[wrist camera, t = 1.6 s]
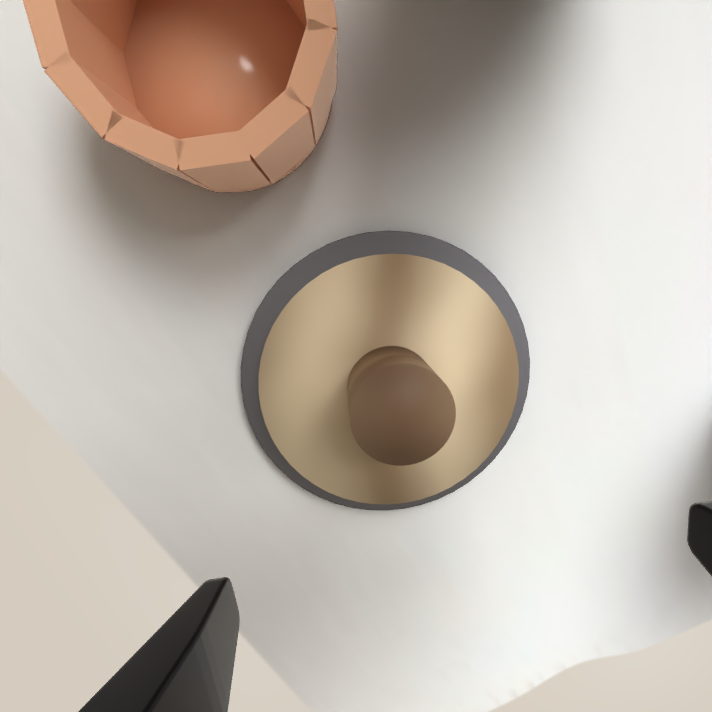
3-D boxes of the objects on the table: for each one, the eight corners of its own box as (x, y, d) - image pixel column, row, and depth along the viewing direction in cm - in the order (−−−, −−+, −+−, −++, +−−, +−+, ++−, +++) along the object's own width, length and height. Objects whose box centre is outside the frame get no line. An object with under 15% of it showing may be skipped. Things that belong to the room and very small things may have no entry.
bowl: (314, -67, 16) (305, -213, 11) (348, 177, 18) (353, 145, 13) (86, -36, 16) (-27, -171, 11) (147, 206, 18) (75, 184, 13)
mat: (517, 211, 18) (523, 209, 18) (529, 481, 22) (535, 487, 21) (214, 255, 18) (210, 255, 18) (273, 522, 21) (272, 529, 21)
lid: (502, 236, 18) (556, 227, 14) (515, 473, 21) (563, 529, 16) (238, 275, 18) (206, 279, 13) (287, 509, 21) (274, 576, 16)
